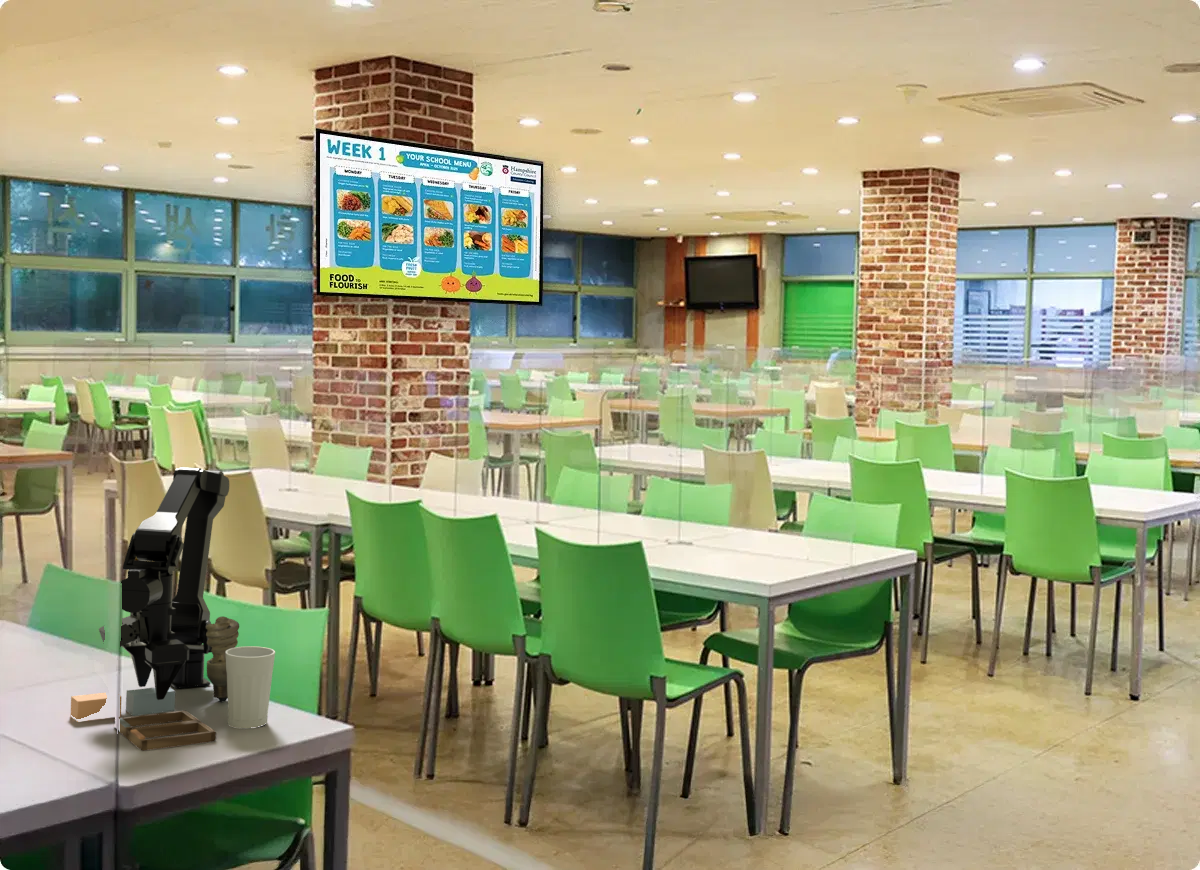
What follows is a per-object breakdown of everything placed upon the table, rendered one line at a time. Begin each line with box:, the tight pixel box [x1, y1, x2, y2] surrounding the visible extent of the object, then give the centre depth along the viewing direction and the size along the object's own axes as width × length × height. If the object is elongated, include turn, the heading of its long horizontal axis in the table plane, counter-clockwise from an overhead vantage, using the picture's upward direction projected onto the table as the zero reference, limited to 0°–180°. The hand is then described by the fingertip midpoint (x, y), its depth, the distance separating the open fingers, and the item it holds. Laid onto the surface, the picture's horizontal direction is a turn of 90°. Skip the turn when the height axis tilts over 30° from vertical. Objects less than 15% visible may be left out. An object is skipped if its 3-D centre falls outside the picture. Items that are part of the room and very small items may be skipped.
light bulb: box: [206, 616, 240, 703], centre depth 235 cm, size 6×6×15 cm
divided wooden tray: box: [119, 710, 217, 752], centre depth 214 cm, size 14×12×2 cm
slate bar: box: [125, 687, 176, 716], centre depth 227 cm, size 4×7×4 cm, turn 128°
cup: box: [225, 645, 276, 729], centre depth 222 cm, size 8×8×12 cm
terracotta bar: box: [70, 692, 122, 719], centre depth 222 cm, size 4×7×4 cm, turn 128°
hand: (151, 692), depth 227 cm, fingers open, 9 cm apart
